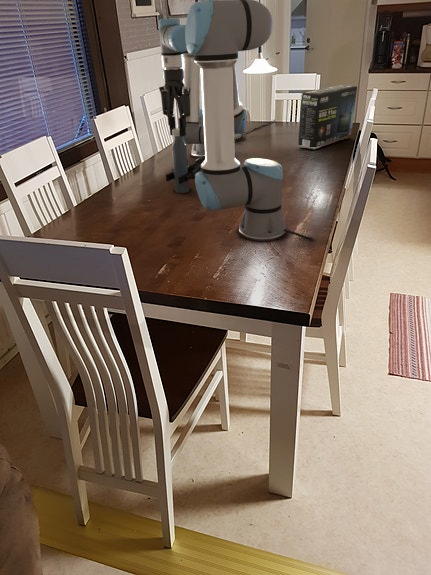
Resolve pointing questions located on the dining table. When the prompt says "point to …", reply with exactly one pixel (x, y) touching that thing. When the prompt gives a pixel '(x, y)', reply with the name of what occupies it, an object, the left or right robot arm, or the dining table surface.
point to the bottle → (180, 164)
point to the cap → (176, 132)
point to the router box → (326, 115)
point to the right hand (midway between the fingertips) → (178, 135)
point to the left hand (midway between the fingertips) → (173, 179)
